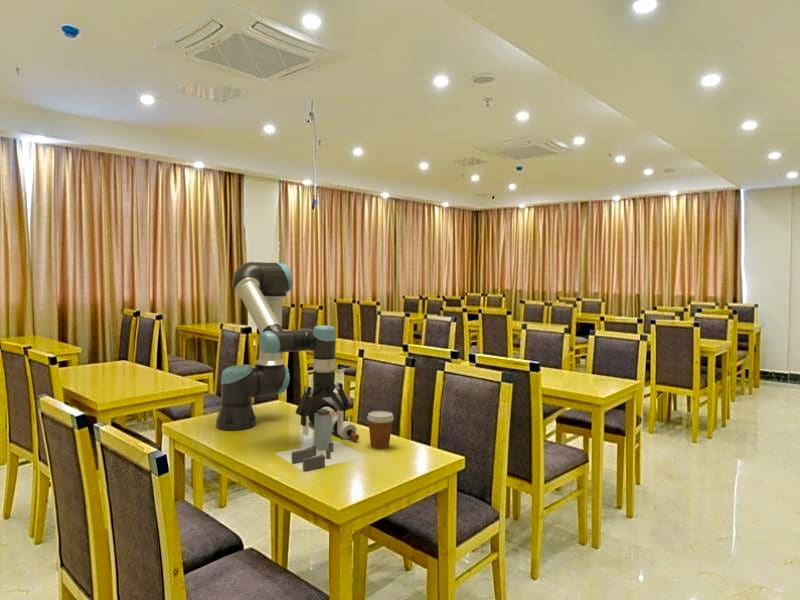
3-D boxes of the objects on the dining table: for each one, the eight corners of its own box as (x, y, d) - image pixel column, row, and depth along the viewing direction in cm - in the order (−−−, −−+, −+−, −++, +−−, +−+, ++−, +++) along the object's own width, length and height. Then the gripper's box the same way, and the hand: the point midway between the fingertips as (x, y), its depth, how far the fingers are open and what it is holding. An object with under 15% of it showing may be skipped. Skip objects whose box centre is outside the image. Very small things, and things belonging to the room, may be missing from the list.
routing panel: (274, 454, 182) (274, 442, 182) (336, 442, 196) (336, 431, 196) (303, 473, 166) (303, 460, 165) (368, 458, 180) (368, 446, 180)
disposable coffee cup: (379, 453, 186) (380, 419, 185) (360, 447, 192) (361, 413, 191) (398, 447, 193) (399, 414, 192) (379, 441, 199) (380, 409, 198)
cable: (350, 456, 195) (341, 434, 191) (307, 424, 222) (298, 404, 218) (372, 440, 200) (363, 418, 196) (327, 410, 227) (319, 391, 223)
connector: (313, 447, 189) (314, 409, 188) (324, 445, 192) (324, 408, 191) (321, 450, 185) (321, 412, 185) (331, 448, 188) (332, 411, 187)
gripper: (296, 375, 176) (295, 440, 177) (360, 369, 192) (359, 428, 192) (286, 372, 182) (285, 434, 183) (349, 366, 198) (348, 423, 198)
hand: (323, 431), depth 188 cm, fingers open, 13 cm apart
